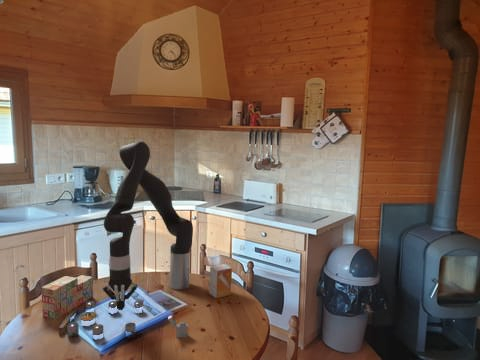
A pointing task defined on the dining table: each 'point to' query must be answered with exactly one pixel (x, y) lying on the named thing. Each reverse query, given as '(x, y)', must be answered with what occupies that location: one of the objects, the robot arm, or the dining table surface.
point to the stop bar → (66, 321)
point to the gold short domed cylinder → (88, 316)
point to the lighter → (179, 328)
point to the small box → (220, 280)
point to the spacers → (98, 329)
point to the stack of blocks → (65, 295)
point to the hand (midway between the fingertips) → (120, 309)
